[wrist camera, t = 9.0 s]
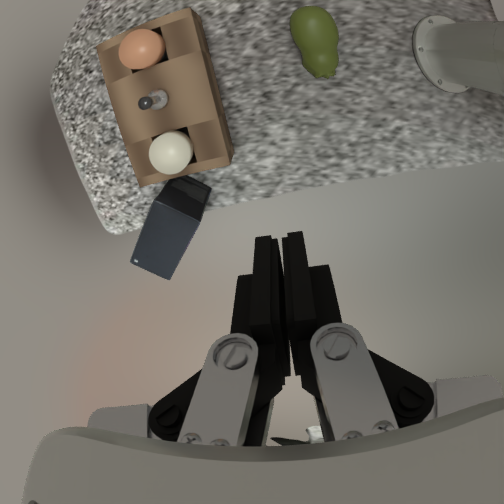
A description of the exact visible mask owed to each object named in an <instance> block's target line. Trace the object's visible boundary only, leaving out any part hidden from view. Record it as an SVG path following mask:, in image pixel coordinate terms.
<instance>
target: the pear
mask: <svg viewBox="0 0 504 504" xmlns="http://www.w3.org/2000/svg"><path fill="white" fill-rule="evenodd" d="M290 30H291V34H292V37H293V40H294V42H295V43H296V45H297V46H298V48H299V49H300V51H301V54H302V57H303V59H302V64H303V66H304V68H306V69H307V71H309V72H310V73H311V74H313V75H314V77H315V78H319V77H321V76H322V77H324V78H327V79H328V78H329V76H334V75H336V74H335V68H337V66H338V61H339V58H338V52H337V44H338V40H339V35H338V29H337V26H336V24H335V21H334V19H333V18H332V16H331V15H330V14H329V13H328V12H327V11H326V10H325V9H323V8H320V7H317V6H305V7H301V8H299V9H297V10H296V11H294V12H293V14H292V15H291V18H290Z"/></svg>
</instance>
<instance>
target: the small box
mask: <svg viewBox="0 0 504 504" xmlns="http://www.w3.org/2000/svg"><path fill="white" fill-rule="evenodd" d="M210 192H211V188H210V187H208V186H207V185H205V184H203V183H201V182H199V181H197V180H195V179H193V178H191V177H189V176H187V175H184V176H180V177H176V178H172V179H169V180H168V182H167V183H166V185H165V186H164V188H163V189H162V191H161V192H160V193H159V195H158V196H157V197H156V198H155V199H154V201H153V203H152V205H151V208H150V210H149V213H148V215H147V218H146V220H145V222H144V225H143V227H142V230H141V233H140V235H139V238H138V241H137V243H136V246H135V249H134V251H133V254H132V257H131V260H130V263H132V264H134V265H136V266H138V267H140V268H143V269H145V270H147V271H149V272H151V273H154V274H156V275H158V276H160V277H162V278H165V279H167V280H170V279H171V277H172V275H173V273H174V271H175V269H176V267H177V265H178V263H179V261H180V260H181V258H182V256H183V254H184V252H185V251H186V249H187V247H188V245H189V243H190V241H191V239H192V238H193V236H194V234H195V232H196V230H197V228H198V226H199V224H200V222H201V219H202V216H203V213H204V210H205V207H206V204H207V201H208V198H209V195H210Z"/></svg>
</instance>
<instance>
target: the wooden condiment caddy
mask: <svg viewBox="0 0 504 504" xmlns="http://www.w3.org/2000/svg"><path fill="white" fill-rule="evenodd" d="M138 29H148V30H151V31H154V32H156V33H158V34H160V35H161V36H162V37H163V39H164V42H165V47H166V51H167V55H168V59H169V60H168V61H165V62H162V63H159V64H156V65H154V66H152V67H150V68H147V69H130V68H128V67H126V66H124V65H123V64H122V62H121V61H120V58H119V47H120V44H121V42H122V40H123V39H124V38H125V37H126V36H127V35H128V34H129V33H131V32H132V31H135V30H138ZM96 48H97V52H98V56H99V60H100V64H101V68H102V72H103V75H104V79H105V83H106V86H107V90H108V93H109V97H110V100H111V104H112V107H113V110H114V113H115V117H116V120H117V123H118V126H119V129H120V132H121V135H122V138H123V141H124V144H125V147H126V150H127V153H128V156H129V159H130V161H131V164H132V167H133V170H134V172H135V175H136V178H137V181H138V183H139V186H140V187H143V186H147V185H150V184H154V183H157V182H161V181H165V180H169V179H172V178H176V177H180V176H184V175H188V174H192V173H196V172H201V171H205V170H209V169H214V168H218V167H223V166H228V165H230V164H231V161H232V157H233V154H234V149H233V145H232V141H231V137H230V133H229V129H228V125H227V121H226V117H225V113H224V109H223V105H222V101H221V97H220V93H219V89H218V85H217V81H216V77H215V73H214V69H213V65H212V61H211V57H210V53H209V49H208V45H207V41H206V38H205V34H204V30H203V26H202V22H201V18H200V16H199V15H198V14H197V13H196V12H194V11H193V10H192V9H191V8H190V7H189V8H186V9H183V10H179V11H176V12H173V13H170V14H168V15H165V16H162V17H159V18H157V19H154V20H151V21H149V22H146V23H144V24H141V25H139V26H137V27H134V28H132V29H130V30H128V31H125V32H123V33H121V34H119V35H117V36H115V37H113V38H111V39H109V40H107V41H105V42H103V43H101V44H99V45H97V46H96ZM157 89H162V90H165V91H166V92H167V93H168V95H169V101H168V104H167V105H166V106H165V107H164V108H161V109H158V110H154V109H152V108H149V109H147V110H142V109H140V108H139V106H138V101H139V99H140V98H142V97H145V96H148V95H149V93H150V92H151V91H153V90H157ZM183 127H187V128H188V132H189V135H190V139H191V142H192V144H193V149H194V153H193V156H192V158H191V160H190V162H189V163H188V164H187V166H186V167H185V168H184V169H183V170H182V171H181V172H179V173H176V174H164V173H161V172H159V171H158V170H156V169H155V168H154V167H153V165H152V164H151V161H150V158H149V149H150V146H151V144H152V142H153V141H154V140H155V139H156V138H157V137H159V136H160V135H162V134H163V133H165V132H167V131H172V130H176V129H180V128H183Z"/></svg>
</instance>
